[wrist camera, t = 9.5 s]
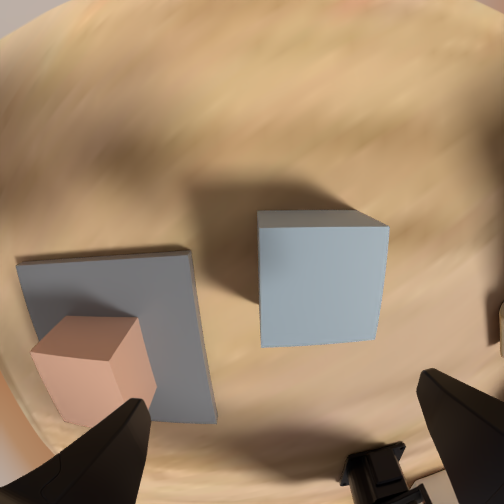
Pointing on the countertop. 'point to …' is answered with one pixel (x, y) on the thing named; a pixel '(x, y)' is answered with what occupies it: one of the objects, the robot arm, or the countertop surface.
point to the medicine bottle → (438, 488)
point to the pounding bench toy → (501, 329)
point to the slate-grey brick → (319, 276)
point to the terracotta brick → (94, 366)
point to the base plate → (134, 305)
